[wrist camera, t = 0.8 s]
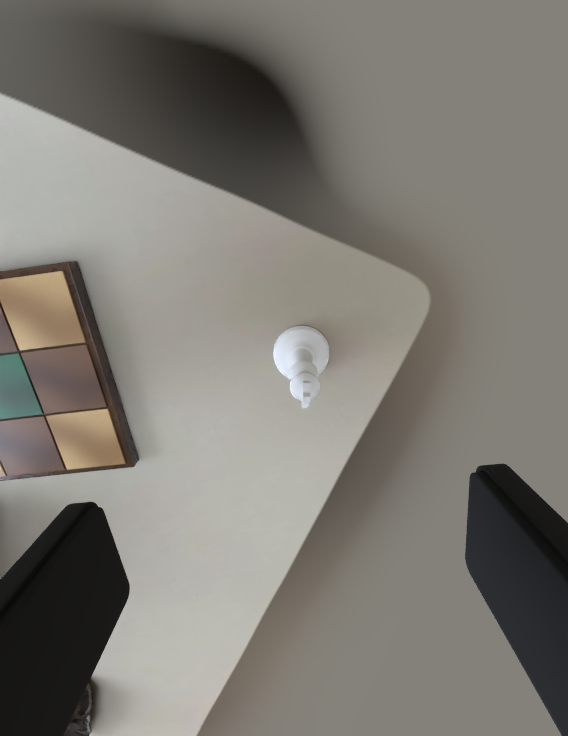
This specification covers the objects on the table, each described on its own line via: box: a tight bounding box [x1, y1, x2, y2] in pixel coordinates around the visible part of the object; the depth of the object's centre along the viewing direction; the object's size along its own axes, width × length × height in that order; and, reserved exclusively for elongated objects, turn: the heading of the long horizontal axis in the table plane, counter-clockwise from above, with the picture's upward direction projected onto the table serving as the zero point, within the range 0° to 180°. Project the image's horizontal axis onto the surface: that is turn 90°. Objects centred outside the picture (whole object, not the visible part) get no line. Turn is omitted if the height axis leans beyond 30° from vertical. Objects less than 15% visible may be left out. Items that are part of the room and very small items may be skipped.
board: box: [0, 262, 139, 481], centre depth 31 cm, size 19×19×1 cm
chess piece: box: [273, 326, 329, 408], centre depth 25 cm, size 5×5×10 cm
